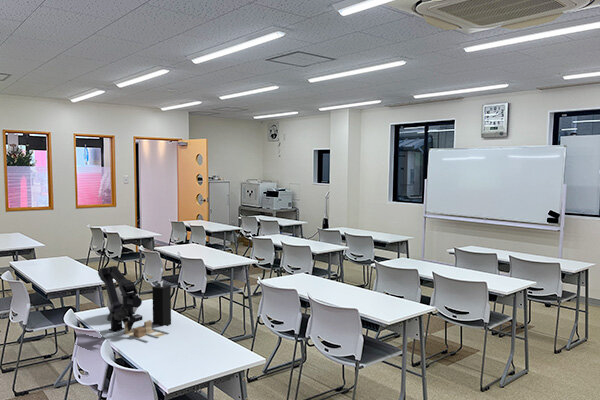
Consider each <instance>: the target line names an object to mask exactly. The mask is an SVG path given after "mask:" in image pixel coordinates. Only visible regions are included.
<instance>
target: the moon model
mask: <svg viewBox="0 0 600 400" xmlns="http://www.w3.org/2000/svg"><path fill="white" fill-rule="evenodd" d="M115 289H116V292H117V296H118V299H119V302H120V303H121V304H123V300H122V296H121V294H122V293H121V291H120V289H119V286H118V287H115ZM133 292H134V291H133ZM129 293H131V292H129ZM136 295H138V296H139V298H141V297H140V295H139V293H138V294H136ZM106 305H107V308H108V311H109V310H110V307H111V304H110V300H109V297H108V296H107V301H106ZM137 310H139V307H138V308H135V307H133V312H135V313H136V311H137Z"/></svg>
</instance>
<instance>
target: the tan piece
mask: <svg viewBox="0 0 600 400" xmlns="http://www.w3.org/2000/svg"><path fill="white" fill-rule="evenodd" d="M123 325H124V327H123V328H124V329H123V330H124V333H123V334H124V335H127V336H133V327H132V328H131V330H130V331H128V324H127V322H126V323H123ZM146 336H147V335H145V336H144V337H146ZM140 339H142V337H140Z"/></svg>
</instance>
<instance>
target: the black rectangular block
mask: <svg viewBox="0 0 600 400" xmlns="http://www.w3.org/2000/svg"><path fill="white" fill-rule="evenodd" d="M151 290H152V325H155V326H161V327H165V326H166V327H168V326H170V325H172V298H171V297H172V293H171V292H172V285H169V284H164V280H161V281H159V284H158V285H155V286H152V288H151Z"/></svg>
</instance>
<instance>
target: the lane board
mask: <svg viewBox="0 0 600 400" xmlns="http://www.w3.org/2000/svg"><path fill="white" fill-rule="evenodd" d="M152 330H153V331H156V332H157V333H159V332H160V333H163V334H165V335H170V332H167V331H164V330H160V329H157V328H154V327H152ZM145 335H146V336H148V337H152V338H155V339H159V338H160V337H158V336H154V334H152V333H151V334H148V333H145ZM128 337H129V338H131V339H134V340H136V341H140V342H144V343H149V341H148V340H146V339H144V338H137V337H134V336H130V335H128Z"/></svg>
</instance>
